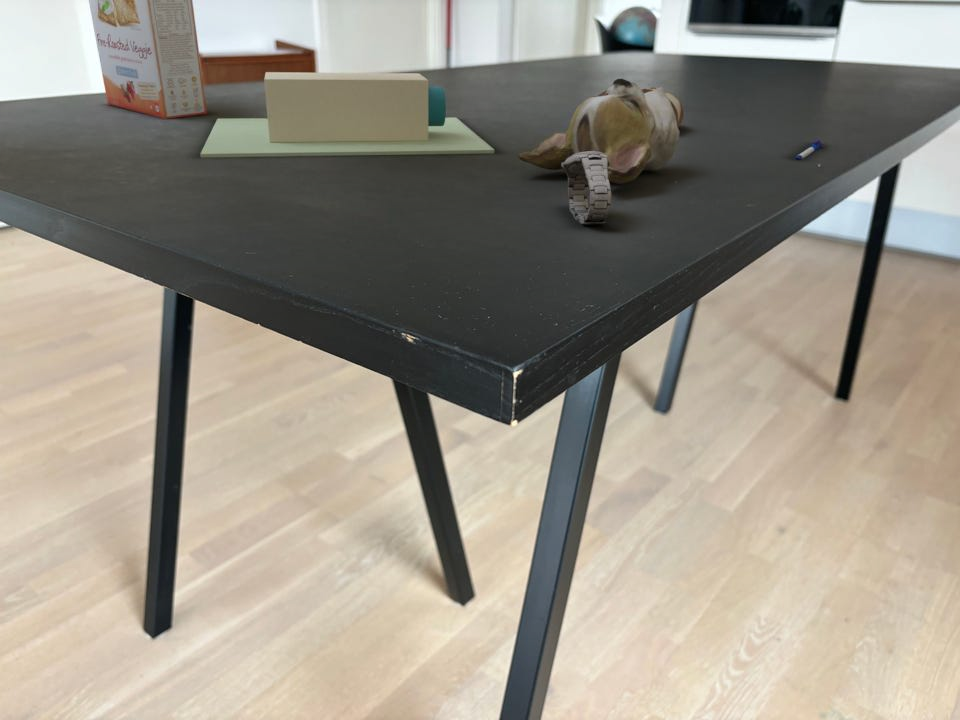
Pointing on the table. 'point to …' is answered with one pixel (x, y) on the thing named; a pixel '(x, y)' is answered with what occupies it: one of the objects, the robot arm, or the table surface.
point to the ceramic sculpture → (616, 132)
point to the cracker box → (150, 56)
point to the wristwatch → (588, 186)
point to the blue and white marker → (809, 150)
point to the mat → (254, 142)
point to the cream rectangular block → (351, 107)
